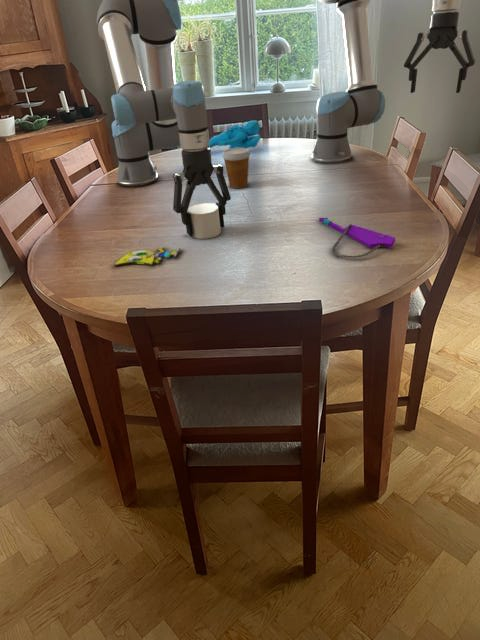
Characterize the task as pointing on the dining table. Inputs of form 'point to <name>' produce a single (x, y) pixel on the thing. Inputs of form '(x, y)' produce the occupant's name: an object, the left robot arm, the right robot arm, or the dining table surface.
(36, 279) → the dining table surface
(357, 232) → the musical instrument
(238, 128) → the toy
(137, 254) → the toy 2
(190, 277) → the dining table surface
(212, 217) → the canister
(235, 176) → the disposable coffee cup
